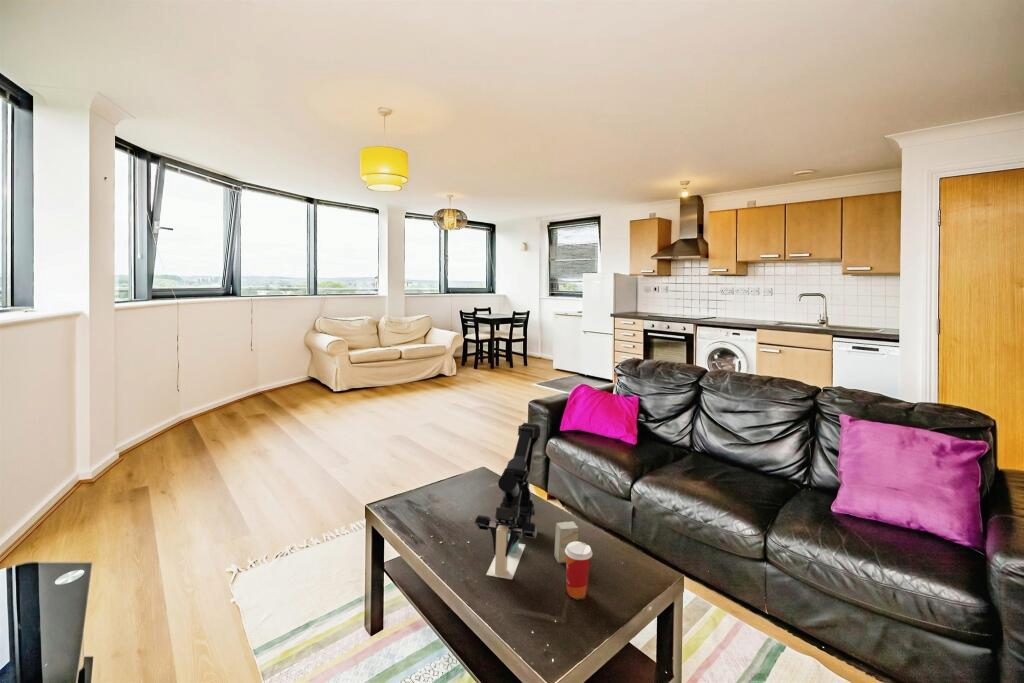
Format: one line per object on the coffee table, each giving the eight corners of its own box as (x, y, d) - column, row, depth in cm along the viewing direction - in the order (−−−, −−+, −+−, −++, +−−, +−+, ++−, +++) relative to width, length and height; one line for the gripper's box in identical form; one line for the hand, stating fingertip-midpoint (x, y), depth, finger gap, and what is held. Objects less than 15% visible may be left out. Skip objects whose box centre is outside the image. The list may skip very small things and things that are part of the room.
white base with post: (502, 543, 158) (503, 501, 156) (525, 547, 156) (527, 504, 155) (485, 577, 139) (487, 530, 138) (512, 582, 138) (513, 534, 136)
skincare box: (558, 566, 146) (560, 529, 145) (553, 558, 151) (555, 522, 149) (577, 563, 148) (579, 527, 147) (571, 555, 152) (573, 520, 151)
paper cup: (572, 581, 139) (574, 537, 137) (595, 593, 134) (597, 547, 132) (557, 594, 133) (559, 548, 131) (580, 607, 128) (583, 559, 126)
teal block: (506, 544, 156) (507, 533, 155) (518, 546, 155) (518, 535, 154) (503, 551, 152) (504, 539, 151) (515, 553, 151) (516, 541, 150)
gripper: (477, 490, 144) (464, 542, 135) (536, 498, 140) (528, 553, 130) (484, 503, 153) (472, 553, 143) (540, 511, 148) (532, 563, 139)
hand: (500, 555), depth 139 cm, fingers closed on white base with post, 3 cm apart
